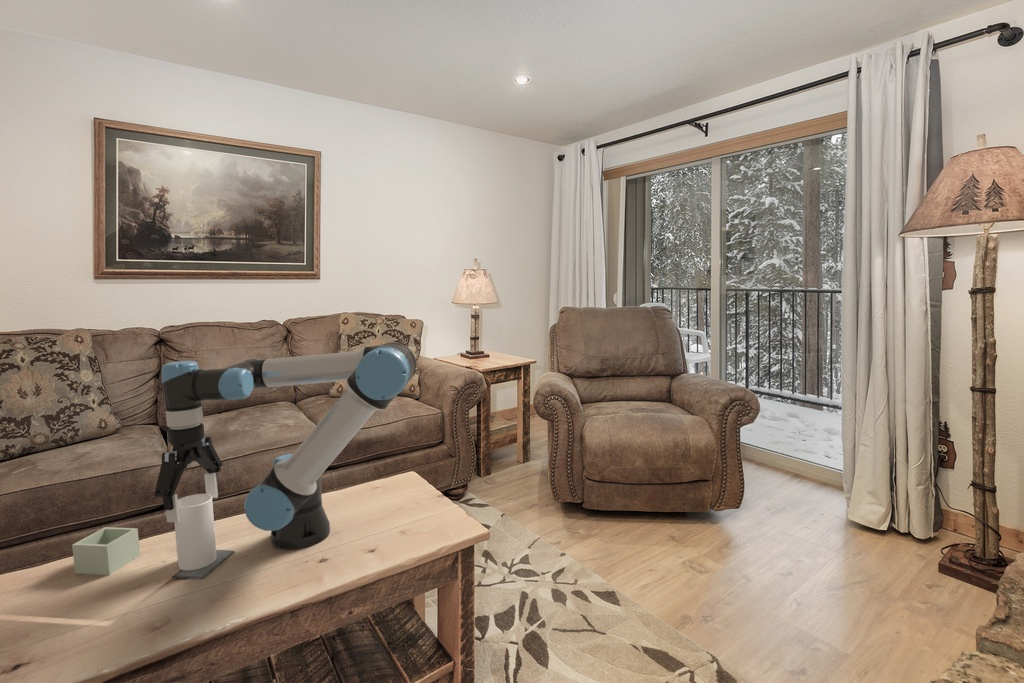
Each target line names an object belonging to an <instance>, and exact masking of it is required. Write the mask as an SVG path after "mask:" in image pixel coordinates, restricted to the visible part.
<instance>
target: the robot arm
mask: <svg viewBox="0 0 1024 683" xmlns="http://www.w3.org/2000/svg"><path fill="white" fill-rule="evenodd" d="M416 370H417V359H416V357H415V354H414V352H413V351H412V350H411V348H409V347H408V346H407V345H404V344H402V343H399V342H387V343H382V344H378V345H370V346H364V347H363V348H362V349H361V350H357V351H356V350H355V351H346V352H335V353H333V352H332V353H323V354H312V355H311V354H310V355H301V356H290V357H289V356H287V357H276V358H266V359H260V358H251V359H250V358H249V359H246V360H243V361H242V362H239V363H235V364H231V365H229V366H225V367H221V368H211V369H210V368H209V369H202V368H201V369H200V368H199V364H198V363H197V361H195V360H180V361H172V362H167V363H165V364H163V365H162V367H161V382H160V383H161V385H162V393H163V400H164V409H165V419H166V427H168V428H167V429H166V432H167V440H168V443H169V444H170V445H171V446H172V451H171V452H163V453H162V454H161V464H160V469H159V474H158V478H157V481H156V486H155V490H154V493H153V494H154V495H153V496H154V497H155V498H162V502H163V509H164V511H165V517H166V518H165V519H166V523H175V522H179V521H180V516H179V506H178V499H179V498H178V494H176V490H177V488H178V486H179V483H180V480H181V478H182V475H183V472H184V470H185V469H187V467H188V465H190V464H192V463H193V462H197V463H198V464H199V465H200V466H201V468H202V469H203V470H204V471H206V472H205V473H204V474H203V476H204V485H205V487H204V488H205V494H209V495H211V496H212V499H217V498H219V494H218V493H219V492H218V475H217V473H220V472H221V471H222V470H221V468H222V466H223V462H222V460H221V458H220V457H219V455H218V452H217V451H216V449H215V448H214V446H213V443H212V438H211V436H205V426H204V424H203V422H204V414H203V413H204V412H203V406H202V405H203V404H202V402H203V401H205V402H206V401H237V400H245V399H247V398H248V397H251V393H252V392H253V390H255V389H266V388H267V389H268V388H275V387H288V386H298V385H311V384H322V383H334V382H344V381H345V383H346V390H345V391H344V392H343V393H342V395H341V396H340V397H339V398H338V399H337V401H336V402H335V403H334V404H333V405H332V407H331V408H330V409H329V411H327V413H326V414H325V415H324V416H323V418H321V420H320V421H319V422H318V423H317V425H316V426H315V427H314V428H313V429H312V430H311V432H310V433H309V434H308V435H307V436H306V437H305V438H304V440H303V441H302V442H301V444H300V445H299V446H298V447H297V448H296V449H295V450H294V452H293V453H286V454H282V455H279V456H277V457H275V458H274V459H273V462H272V468H271V469H270V470H269V471H268V473H267V474H266V475H265V476H264V478H263V479H262V480H261V481H260V482H259V483H258V484H257V485H256V486H255V487H253V488H251V489H250V490H249V493H248V494H247V495H246V497H245V498H244V499H245V500H244V504H243V509H244V511H245V512H244V514H245V517H246V518H247V520H248V521H249V523H251V525H253V526H254V527H256V528H258V529H259V530H263V531H267V532H270V542H271V544H272V546H274V547H275V548H277V549H283V550H296V549H297V550H298V549H304V548H308V547H311V546H314V545H316V544H319V543H320V542H322V541H324V540H325V539H326V538H327V537H328V536H329V535H330V533H331V525H330V520H329V519H328V516H327V514H326V512H325V509H324V507H323V500H322V499H323V497H322V495H323V494H322V481H321V480H322V477H321V476H322V475H323V473H324V472H325V471H326V470H327V469H328V467H329V466H330V465H331V464H332V463H333V462H334V461H335V460H336V458H337V457H338V456H339V455H340V453H342V451H343V450H344V449H345V447H346V446H348V444H349V443H350V442H351V441H352V439H353V438H354V437H355V436H356V434H358V433H359V431H360V430H361V429H362V428H363V426H364V425H365V424H366V423H367V422H368V420H369V419H370V418H371V417H372V415H374V413H375V412H378V411H384V410H385V411H386V409H387V408H388V406H389V405H390V404H392V402H393V400H395V398H396V397H397V396H398V395H399V394H400V393H402V391H403V390H404V389H405V388H406V386H407V384H408V383H410V380H411V379H412V378H413V377H414V376H415V373H416Z"/></svg>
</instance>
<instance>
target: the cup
mask: <svg viewBox="0 0 1024 683" xmlns="http://www.w3.org/2000/svg"><path fill="white" fill-rule="evenodd" d="M213 504H214V503H213V498H212V496H211V495H209V494H206V493H195V494H194V493H193V494H190V495H186V496H183V497H180V498H178V506H179V516H180V521H179V522H174V531H175V532H174V534H175V544H176V556H177V566H178V567H177V568H178V569H180V570H185V571H189V570H196V569H200V568H203V567H206V566H208V565H210V564H211V563H213V562H214V561H215V560H216V558H217V556H216V550H217V545H216V544H217V543H216V532H215V518H214V505H213Z"/></svg>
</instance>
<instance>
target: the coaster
mask: <svg viewBox="0 0 1024 683" xmlns="http://www.w3.org/2000/svg"><path fill="white" fill-rule="evenodd" d="M234 553H235V550H233V549H232V550H231V549H230V550H229V549H216V556H217V558H216V560H215V561H214V562H213V563H211V564H210V565H208V566H206V567H203V568H200V569H196V570H189V571H185V570H181V569H180V570H179V571H178V572H177V573H175V574H174V575H173V576H171V578H177V579H178V578H179V579H194V580H195V579H196V580H198V579H199V580H203V579H205V578H206V577H207V576H208V575H210V574H211V573H212V572H213V571H214V570H215V569H217V568H218V567H219V566H220V565H221V564H223V563H224V562H225V561H226V560H228V559H229V558H230V557H231V556H233V554H234Z"/></svg>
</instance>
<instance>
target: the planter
mask: <svg viewBox="0 0 1024 683" xmlns="http://www.w3.org/2000/svg"><path fill="white" fill-rule="evenodd" d="M71 547H72V556H73V564H74V574H77V575H79V574H80V575H95V576H97V575H101V576H102V575H103V576H111V575H112V574H114V573H115V572H117V571H118V570H120V569H121V568H123V567H125V566H126V565H128V564H129V563H131V562H133V561H134V560H135V559H137V558H138V557H140V556H141V551H140V540H139V529H138V528H136V527H135V528H134V527H133V528H132V527H115V526H114V527H113V526H110V527H109V526H106V527H105V526H104V527H103V528H100V529H99V530H97V531H96V532H94V533H92V534H90V535H87V536H86V537H84V538H82V539H80V540H79V541H77V542H75V543H73V544H72V545H71Z"/></svg>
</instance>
